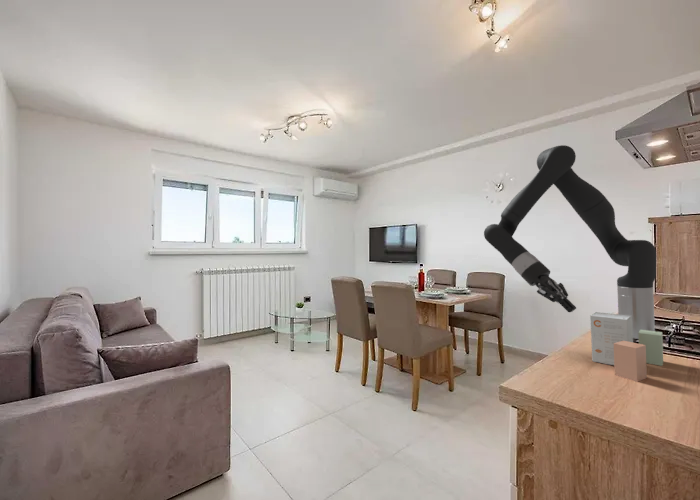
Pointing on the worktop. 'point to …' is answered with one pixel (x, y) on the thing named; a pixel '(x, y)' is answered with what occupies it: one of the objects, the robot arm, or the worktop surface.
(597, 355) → the small box
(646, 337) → the sage block
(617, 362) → the terracotta block
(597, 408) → the worktop surface
